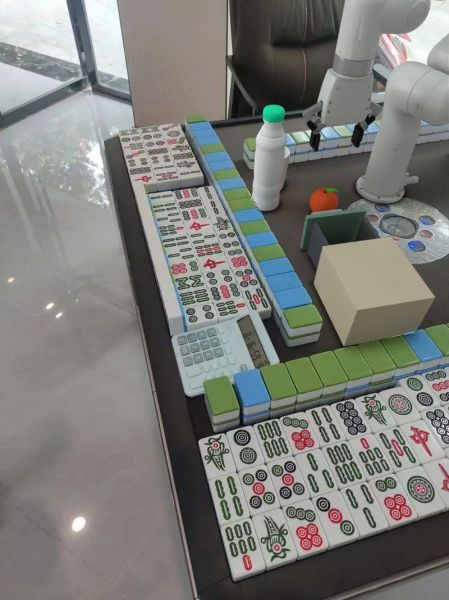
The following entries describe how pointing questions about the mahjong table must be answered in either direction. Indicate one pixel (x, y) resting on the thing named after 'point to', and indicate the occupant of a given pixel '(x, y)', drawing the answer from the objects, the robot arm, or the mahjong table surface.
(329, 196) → the clementine
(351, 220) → the drawer
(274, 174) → the water bottle
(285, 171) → the white cup
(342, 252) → the cabinet
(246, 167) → the mahjong table surface
